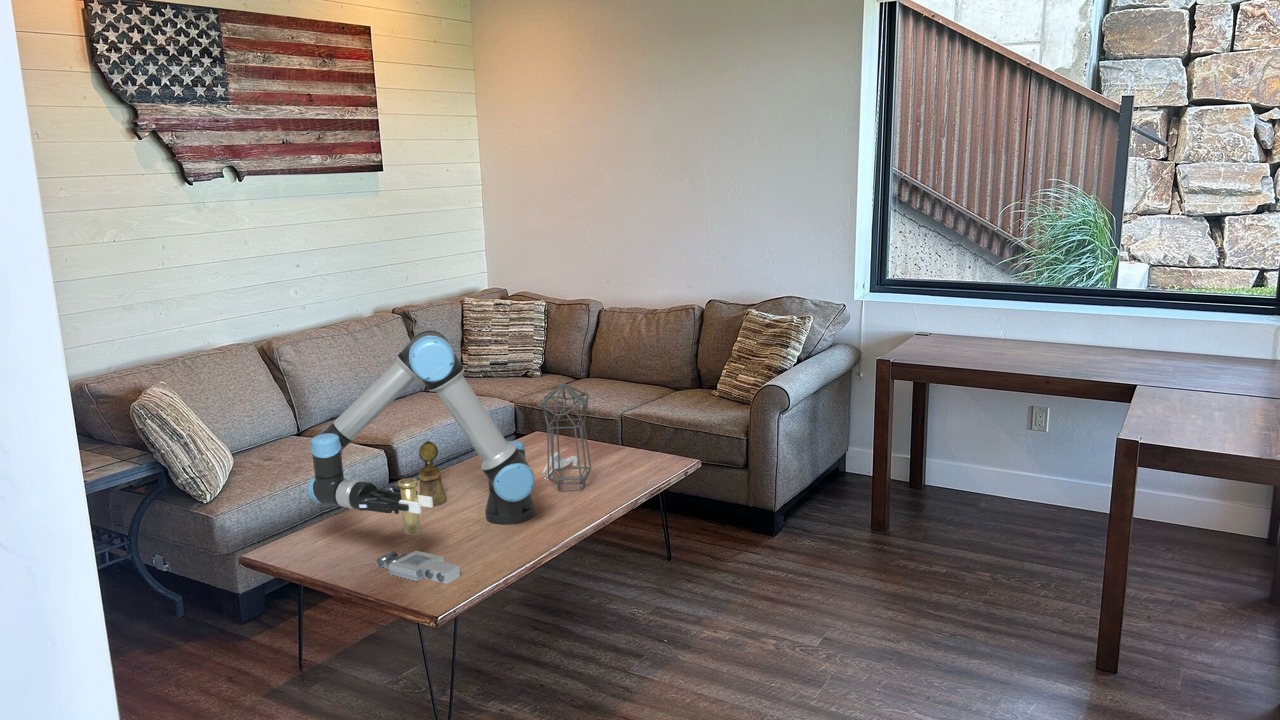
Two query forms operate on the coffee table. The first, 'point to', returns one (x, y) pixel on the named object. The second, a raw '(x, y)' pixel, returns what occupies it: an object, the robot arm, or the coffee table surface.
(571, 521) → the coffee table surface
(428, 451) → the brass bell
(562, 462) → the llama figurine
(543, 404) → the geometric lantern
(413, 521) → the pin
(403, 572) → the grey link plate
